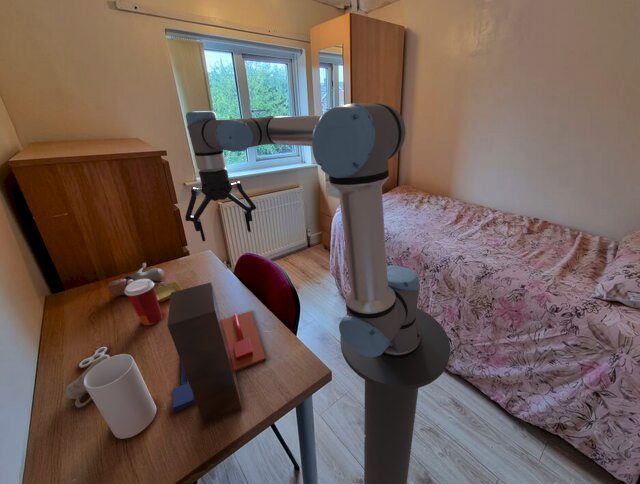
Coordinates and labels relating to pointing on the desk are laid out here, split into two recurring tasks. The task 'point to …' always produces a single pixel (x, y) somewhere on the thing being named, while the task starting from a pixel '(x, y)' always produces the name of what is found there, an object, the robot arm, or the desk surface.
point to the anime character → (120, 285)
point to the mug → (80, 386)
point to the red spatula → (241, 342)
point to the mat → (247, 332)
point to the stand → (204, 351)
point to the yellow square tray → (167, 291)
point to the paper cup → (144, 300)
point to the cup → (121, 395)
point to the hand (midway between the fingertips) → (227, 235)
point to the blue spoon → (182, 394)
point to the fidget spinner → (94, 357)
